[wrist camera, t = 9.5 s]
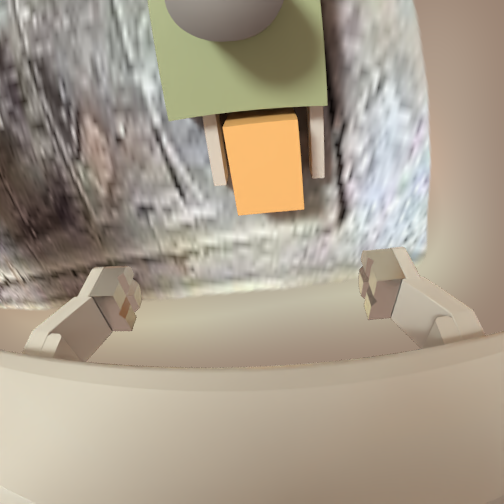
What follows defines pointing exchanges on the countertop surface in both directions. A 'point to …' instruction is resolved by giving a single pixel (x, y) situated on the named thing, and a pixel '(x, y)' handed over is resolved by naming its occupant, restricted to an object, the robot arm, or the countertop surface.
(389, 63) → the countertop surface
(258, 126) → the tall orange cuboid
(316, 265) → the countertop surface
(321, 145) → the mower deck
